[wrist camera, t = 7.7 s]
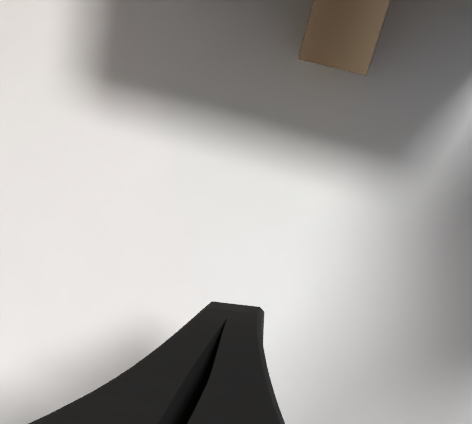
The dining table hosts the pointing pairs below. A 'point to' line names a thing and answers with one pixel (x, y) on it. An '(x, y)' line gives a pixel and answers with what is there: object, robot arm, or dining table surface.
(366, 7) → the tan t-shaped block
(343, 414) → the dining table surface
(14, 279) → the dining table surface
